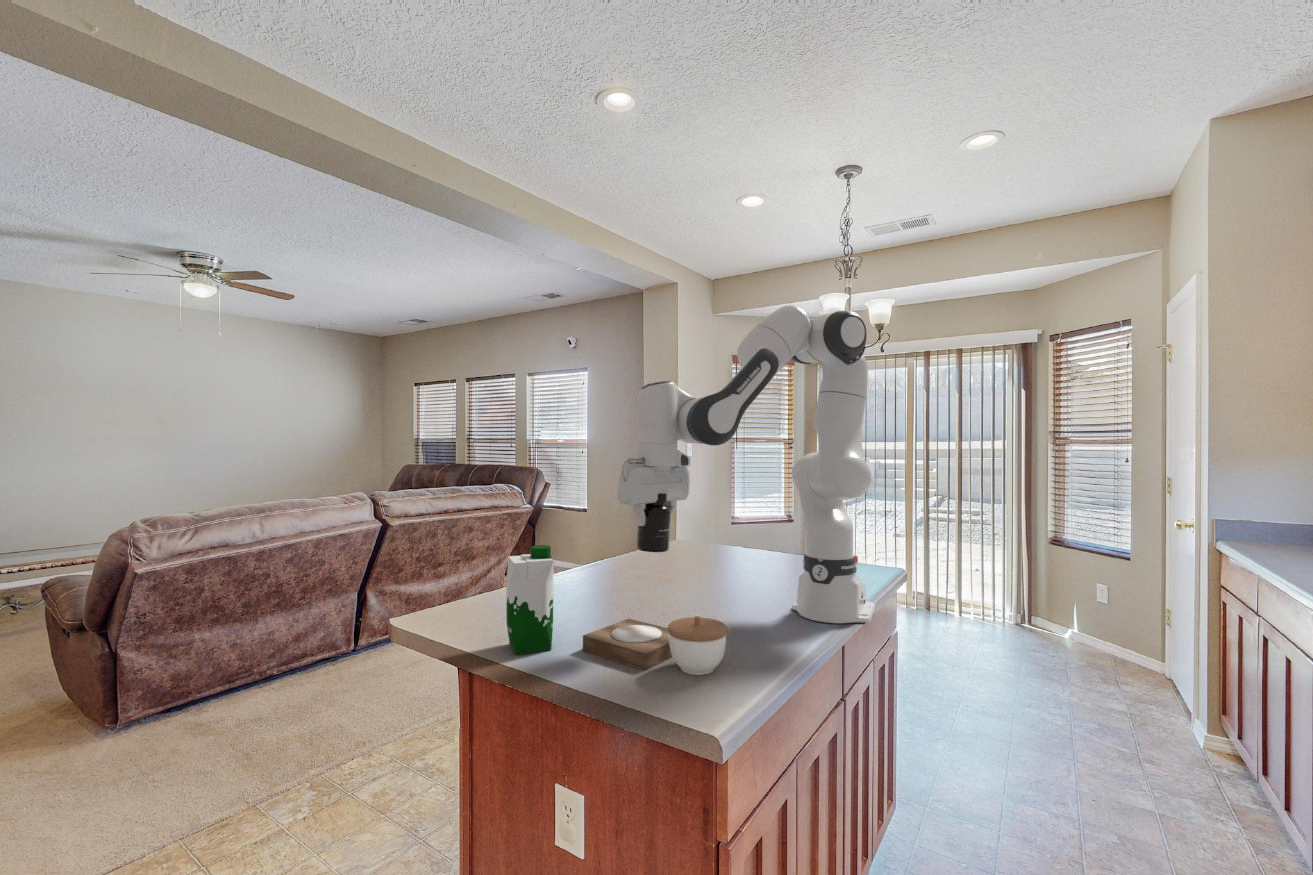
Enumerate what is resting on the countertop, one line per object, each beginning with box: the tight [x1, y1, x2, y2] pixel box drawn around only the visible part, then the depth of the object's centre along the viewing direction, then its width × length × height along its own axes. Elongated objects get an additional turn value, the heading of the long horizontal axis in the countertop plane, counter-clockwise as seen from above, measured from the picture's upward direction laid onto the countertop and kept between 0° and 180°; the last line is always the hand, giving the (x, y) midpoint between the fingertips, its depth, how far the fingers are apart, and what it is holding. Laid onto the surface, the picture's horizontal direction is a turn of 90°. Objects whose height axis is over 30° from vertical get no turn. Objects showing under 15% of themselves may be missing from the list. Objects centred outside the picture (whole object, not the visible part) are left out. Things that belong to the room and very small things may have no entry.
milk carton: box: [506, 544, 555, 656], centre depth 115 cm, size 9×9×20 cm
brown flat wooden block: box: [582, 618, 673, 671], centre depth 113 cm, size 14×16×3 cm
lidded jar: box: [667, 615, 728, 676], centre depth 104 cm, size 11×11×9 cm
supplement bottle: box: [636, 493, 672, 553], centre depth 119 cm, size 7×7×12 cm
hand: (654, 523), depth 119 cm, fingers closed on supplement bottle, 6 cm apart
